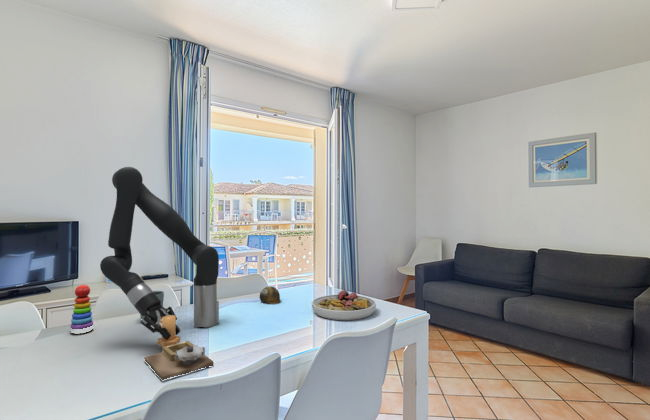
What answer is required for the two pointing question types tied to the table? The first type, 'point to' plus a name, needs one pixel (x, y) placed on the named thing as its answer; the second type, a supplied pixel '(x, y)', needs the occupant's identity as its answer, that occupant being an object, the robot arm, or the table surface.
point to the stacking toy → (82, 308)
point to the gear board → (178, 360)
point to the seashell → (270, 295)
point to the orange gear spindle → (170, 325)
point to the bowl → (343, 306)
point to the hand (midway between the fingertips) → (173, 335)
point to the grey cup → (160, 295)
